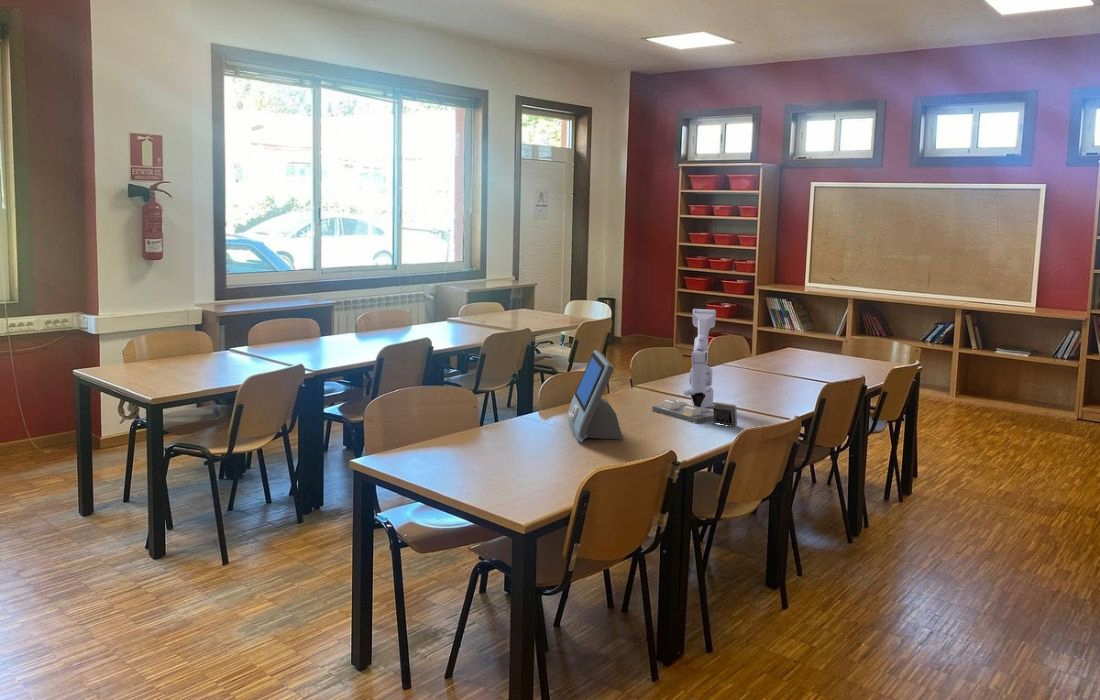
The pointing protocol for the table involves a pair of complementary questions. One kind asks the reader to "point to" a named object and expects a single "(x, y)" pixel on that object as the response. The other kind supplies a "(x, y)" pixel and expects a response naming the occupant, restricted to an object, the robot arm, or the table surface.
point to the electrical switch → (725, 413)
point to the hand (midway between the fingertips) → (697, 410)
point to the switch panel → (704, 416)
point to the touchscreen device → (594, 403)
